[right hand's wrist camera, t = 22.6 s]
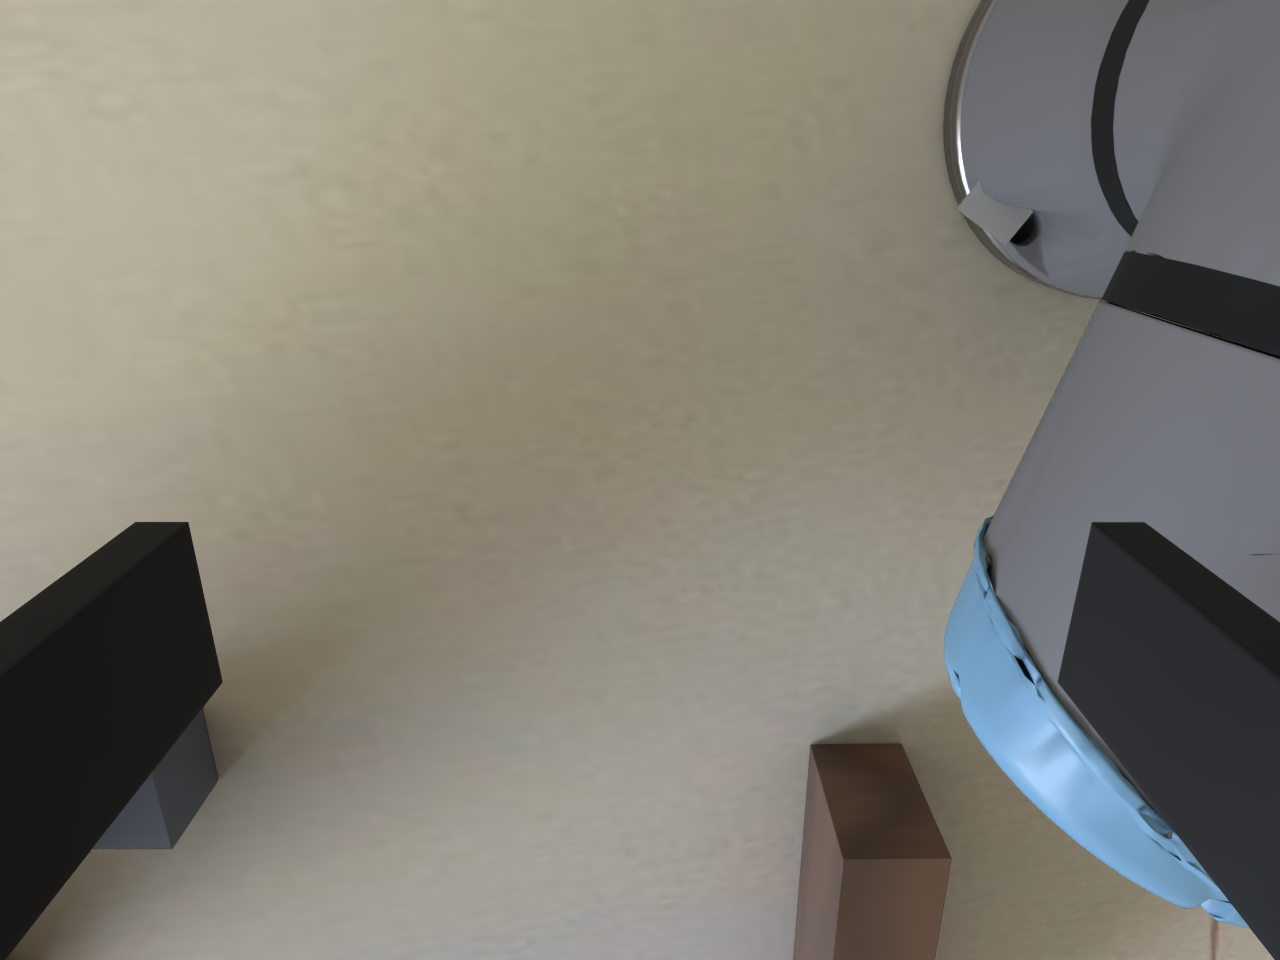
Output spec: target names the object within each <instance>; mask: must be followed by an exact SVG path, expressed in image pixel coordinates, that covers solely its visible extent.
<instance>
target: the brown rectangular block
mask: <svg viewBox="0 0 1280 960" xmlns="http://www.w3.org/2000/svg"><path fill="white" fill-rule="evenodd" d="M950 864H951V856H950V854H949V851H948V849H947V847H946V845H945V842H944V840H943V838H942V835H941V833H940V831H939V829H938V826H937V824H936V822H935V819H934V817H933V815H932V813H931V810H930V808H929V806H928V803H927V801H926V799H925V797H924V794H923V792H922V790H921V788H920V785H919V783H918V781H917V778H916V776H915V774H914V772H913V769H912V767H911V765H910V762H909V760H908V758H907V756H906V753H905V751H904V749H903V746H902V744H852V745H811V746H810V758H809V770H808V782H807V795H806V807H805V820H804V832H803V844H802V857H801V869H800V881H799V894H798V906H797V919H796V931H795V943H794V956H793V960H935V955H936V949H937V943H938V937H939V931H940V924H941V918H942V912H943V906H944V900H945V894H946V888H947V882H948V876H949V870H950Z"/></svg>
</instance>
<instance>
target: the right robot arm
mask: <svg viewBox="0 0 1280 960" xmlns="http://www.w3.org/2000/svg"><path fill="white" fill-rule="evenodd" d="M943 125H944V150H945V159H946V165H947V170H948V174H949V179H950V183H951V186H952V189H953V192H954V195H955V198H956V200H957V202H958V205H959V206H958V208H957V210H958V211H959V212H961V213H962V214H963V215H964V217H965V219H966V221H967V222H968V224H969V226H970V228H971V229H972V230H973V232H974V233H975V234H976V236H977V237H978V238H979V240H980V241H981V242H982V243H983V244H984V246H985V247H986V248H987V249H988V250H989V251H990V252H991V253H992V254H993V255H994V256H995V257H997V258H998V259H999V260H1000V261H1001V262H1002V263H1004V264H1005V265H1006V266H1008V267H1009V268H1011V269H1012V270H1014V271H1015V272H1017V273H1019V274H1021V275H1022V276H1024V277H1026V278H1028V279H1030V280H1032V281H1035V282H1037V283H1040V284H1042V285H1045V286H1048V287H1051V288H1054V289H1057V290H1060V291H1063V292H1066V293H1069V294H1073V295H1077V296H1081V297H1086V298H1093V299H1101V300H1105V301H1107V302H1104V301H1101V300H1100V301H1099V303H1098V305H1097V307H1096V309H1095V311H1094V313H1093V315H1092V317H1091V319H1090V321H1089V323H1088V325H1087V328H1086V330H1085V332H1084V334H1083V336H1082V338H1081V340H1080V342H1079V344H1078V346H1077V348H1076V350H1075V352H1074V354H1073V356H1072V358H1071V360H1070V362H1069V364H1068V366H1067V368H1066V370H1065V372H1064V374H1063V376H1062V378H1061V380H1060V382H1059V384H1058V386H1057V388H1056V390H1055V392H1054V394H1053V396H1052V398H1051V400H1050V402H1049V405H1048V407H1047V409H1046V411H1045V413H1044V415H1043V417H1042V419H1041V421H1040V423H1039V425H1038V427H1037V429H1036V431H1035V433H1034V435H1033V437H1032V439H1031V441H1030V443H1029V445H1028V447H1027V449H1026V451H1025V453H1024V455H1023V457H1022V459H1021V461H1020V463H1019V465H1018V467H1017V469H1016V471H1015V473H1014V475H1013V477H1012V480H1011V482H1010V484H1009V486H1008V488H1007V490H1006V492H1005V494H1004V496H1003V498H1002V500H1001V502H1000V504H999V506H998V508H997V510H996V512H995V514H994V516H992V517H989V518H986V519H985V521H984V523H983V524H982V526H981V527H980V529H979V531H978V533H977V536H976V539H975V543H974V559H973V561H972V564H971V566H970V568H969V571H968V573H967V576H966V578H965V580H964V583H963V585H962V587H961V590H960V592H959V594H958V597H957V599H956V602H955V604H954V606H953V609H952V611H951V613H950V616H949V619H948V622H947V626H946V631H945V638H944V656H945V664H946V668H947V671H948V675H949V678H950V681H951V684H952V687H953V689H954V691H955V693H956V694H957V696H958V697H959V699H960V700H961V706H962V710H963V713H964V715H965V717H966V719H967V721H968V723H969V724H970V726H971V727H972V729H973V731H974V732H975V734H976V735H977V737H978V739H979V740H980V741H981V743H982V744H983V746H984V747H985V749H986V750H987V751H988V752H989V754H990V755H991V756H992V758H993V759H994V760H995V761H996V763H997V764H998V765H999V766H1000V768H1001V769H1002V770H1003V771H1004V772H1005V774H1006V775H1007V776H1008V777H1009V778H1010V779H1011V780H1012V782H1013V783H1014V784H1015V785H1016V786H1017V787H1018V788H1019V789H1020V790H1021V791H1022V792H1023V793H1024V794H1025V795H1026V796H1027V797H1028V798H1029V799H1030V800H1031V801H1032V802H1033V803H1034V804H1035V805H1036V806H1037V807H1038V808H1039V809H1040V810H1041V811H1042V812H1043V813H1044V814H1045V815H1046V816H1047V817H1048V818H1050V819H1051V820H1052V821H1053V822H1054V823H1055V824H1056V825H1057V826H1059V827H1060V828H1061V829H1062V830H1063V831H1064V832H1066V833H1067V834H1068V835H1069V836H1070V837H1071V838H1073V839H1074V840H1075V841H1076V842H1077V843H1079V844H1080V845H1081V846H1083V847H1084V848H1085V849H1086V850H1088V851H1089V852H1090V853H1092V854H1093V855H1094V856H1096V857H1097V858H1099V859H1100V860H1101V861H1103V862H1104V863H1105V864H1107V865H1108V866H1110V867H1111V868H1113V869H1114V870H1116V871H1117V872H1119V873H1120V874H1121V875H1123V876H1125V877H1126V878H1128V879H1129V880H1131V881H1133V882H1134V883H1136V884H1138V885H1139V886H1141V887H1143V888H1144V889H1146V890H1148V891H1150V892H1151V893H1153V894H1155V895H1157V896H1159V897H1161V898H1163V899H1165V900H1167V901H1169V902H1171V903H1173V904H1175V905H1177V906H1179V907H1182V908H1185V909H1192V908H1194V907H1197V906H1199V905H1200V906H1201V907H1202V908H1203V909H1204V910H1205V911H1206V912H1207V913H1208V914H1209V915H1210V916H1212V917H1213V918H1214V919H1215V920H1216V921H1220V922H1224V923H1228V924H1232V925H1235V926H1239V927H1243V928H1250V929H1251V930H1252V931H1253V933H1254V934H1255V935H1256V936H1257V938H1258V939H1259V940H1260V941H1261V943H1262V944H1263V945H1264V947H1265V948H1266V949H1267V950H1268V952H1269V953H1270V954H1271V955H1272V957H1273V958H1274V959H1275V960H1280V0H982V1H981V3H980V4H979V6H978V8H977V10H976V12H975V14H974V15H973V17H972V19H971V21H970V23H969V25H968V27H967V30H966V32H965V34H964V36H963V39H962V41H961V43H960V46H959V49H958V52H957V55H956V58H955V60H954V63H953V67H952V71H951V75H950V79H949V83H948V89H947V95H946V101H945V110H944V124H943ZM1108 302H1109V303H1108ZM1114 304H1115V305H1114ZM1121 306H1122V307H1121ZM1124 307H1125V308H1124ZM1127 308H1129V309H1127ZM1130 309H1132V310H1130ZM1134 310H1136V311H1134ZM1137 311H1139V312H1137ZM1140 312H1143V313H1146V314H1143V313H1140ZM1147 314H1150V315H1153V316H1156V317H1159V318H1162V319H1165V320H1162V319H1159V318H1156V317H1153V316H1150V315H1147ZM1166 320H1168V321H1166ZM1169 321H1171V322H1169ZM1172 322H1174V323H1172ZM1175 323H1177V324H1175ZM1178 324H1181V325H1178ZM1182 325H1184V326H1182ZM1185 326H1187V327H1185ZM1188 327H1190V328H1188ZM1191 328H1193V329H1191ZM1194 329H1196V330H1194ZM1197 330H1199V331H1197ZM1201 331H1202V332H1201ZM1204 332H1205V333H1204ZM1207 333H1208V334H1207ZM1210 334H1212V335H1210ZM1213 335H1215V336H1213ZM1216 336H1218V337H1216ZM1220 337H1221V338H1220ZM1223 338H1224V339H1223ZM1226 339H1227V340H1226ZM1229 340H1230V341H1229ZM1232 341H1233V342H1232ZM1235 342H1236V343H1235ZM1238 343H1239V344H1238ZM221 684H222V677H221V673H220V668H219V663H218V659H217V654H216V649H215V645H214V640H213V635H212V631H211V626H210V621H209V617H208V612H207V607H206V603H205V598H204V593H203V589H202V584H201V579H200V575H199V570H198V565H197V561H196V556H195V551H194V547H193V542H192V537H191V533H190V528H189V523H188V522H135V523H134V524H132V525H131V526H130V527H128V528H127V529H126V530H124V531H123V532H121V533H120V534H119V535H117V536H116V537H115V538H113V539H112V540H111V541H109V542H108V543H107V544H105V545H104V546H103V547H101V548H100V549H98V550H97V551H96V552H94V553H93V554H92V555H90V556H89V557H88V558H86V559H85V560H84V561H82V562H81V563H80V564H78V565H77V566H75V567H74V568H73V569H71V570H70V571H69V572H67V573H66V574H65V575H63V576H62V577H61V578H59V579H58V580H57V581H55V582H54V583H52V584H51V585H50V586H48V587H47V588H46V589H44V590H43V591H42V592H40V593H39V594H38V595H36V596H35V597H34V598H32V599H31V600H30V601H28V602H27V603H25V604H24V605H23V606H21V607H20V608H19V609H17V610H16V611H15V612H13V613H12V614H11V615H9V616H8V617H7V618H5V619H4V620H2V621H1V622H0V960H5V959H6V958H7V957H8V955H9V954H10V953H11V952H12V950H13V949H14V948H15V947H16V945H17V944H18V943H19V941H20V940H21V939H22V938H23V936H24V935H25V934H26V933H27V931H28V930H29V929H30V927H31V926H32V925H33V924H34V922H35V921H36V920H37V918H38V917H39V916H40V915H41V913H42V912H43V911H44V910H45V908H46V907H47V906H48V904H49V903H50V902H51V901H52V899H53V898H54V897H55V895H56V894H57V893H58V892H59V890H60V889H61V888H62V887H63V885H64V884H65V883H66V881H67V880H68V879H69V878H70V876H71V875H72V874H73V872H74V871H75V870H76V869H77V867H78V866H79V865H80V864H81V862H82V861H83V860H84V858H85V857H86V856H87V855H88V853H89V852H90V851H91V850H92V848H93V847H94V846H95V844H96V843H97V842H98V841H99V839H100V838H101V837H102V835H103V834H104V833H105V832H106V830H107V829H108V828H109V827H110V825H111V824H112V823H113V821H114V820H115V819H116V818H117V816H118V815H119V814H120V812H121V811H122V810H123V809H124V807H125V806H126V805H127V804H128V802H129V801H130V800H131V798H132V797H133V796H134V795H135V793H136V792H137V791H138V789H139V788H140V787H141V786H142V784H143V783H144V782H145V781H146V779H147V778H148V777H149V775H150V774H151V773H152V772H153V770H154V769H155V768H156V767H157V765H158V764H159V763H160V761H161V760H162V759H163V758H164V756H165V755H166V754H167V752H168V751H169V750H170V749H171V747H172V746H173V745H174V744H175V742H176V741H177V740H178V738H179V737H180V736H181V735H182V733H183V732H184V731H185V729H186V728H187V727H188V726H189V724H190V723H191V722H192V721H193V719H194V718H195V717H196V715H197V714H198V713H199V712H200V710H201V709H202V708H203V706H204V705H205V704H206V703H207V701H208V700H209V699H210V698H211V696H212V695H213V694H214V692H215V691H216V690H217V689H218V687H219V686H220V685H221Z"/></svg>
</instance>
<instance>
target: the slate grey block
mask: <svg viewBox="0 0 1280 960" xmlns="http://www.w3.org/2000/svg"><path fill="white" fill-rule="evenodd" d="M217 781H218V777H217V772H216V768H215V764H214V759H213V755H212V751H211V746H210V742H209V737H208V733H207V729H206V724H205V720H204V715H203V711H202V709H201V710H200V712H199V713H198V714H197V715H196V717H195V718H194V719H193V721H192V722H191V723H190V724H189V726H188V727H187V728H186V729H185V731H184V732H183V733H182V735H181V736H180V737H179V738H178V740H177V741H176V742H175V744H174V745H173V746H172V747H171V749H170V750H169V751H168V752H167V754H166V755H165V756H164V758H163V759H162V760H161V761H160V763H159V764H158V765H157V767H156V768H155V769H154V770H153V772H152V773H151V774H150V775H149V777H148V778H147V779H146V781H145V782H144V783H143V784H142V786H141V787H140V788H139V789H138V791H137V792H136V793H135V795H134V796H133V797H132V798H131V800H130V801H129V802H128V804H127V805H126V806H125V807H124V809H123V810H122V811H121V812H120V814H119V815H118V816H117V818H116V819H115V820H114V821H113V823H112V824H111V825H110V827H109V828H108V829H107V830H106V832H105V833H104V834H103V835H102V837H101V838H100V839H99V841H98V842H97V843H96V844H95V846H94V847H93V848H92V849H173V847H174V846H175V844H176V843H177V841H178V840H179V838H180V837H181V835H182V834H183V832H184V831H185V829H186V828H187V826H188V825H189V823H190V822H191V820H192V819H193V817H194V816H195V814H196V813H197V811H198V810H199V808H200V807H201V805H202V804H203V802H204V801H205V799H206V798H207V796H208V795H209V793H210V792H211V790H212V789H213V787H214V786H215V784H216V783H217Z"/></svg>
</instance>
